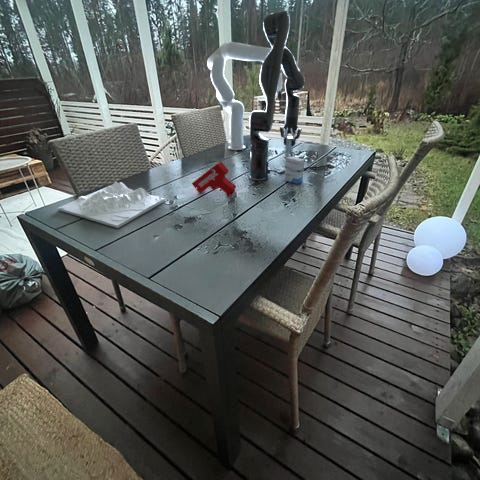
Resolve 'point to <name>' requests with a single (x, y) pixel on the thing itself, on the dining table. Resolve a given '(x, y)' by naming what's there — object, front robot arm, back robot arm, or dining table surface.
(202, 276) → the dining table surface
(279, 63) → the front robot arm
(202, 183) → the toy gun
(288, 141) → the metal cylinder
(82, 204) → the relief map
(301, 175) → the ink box
